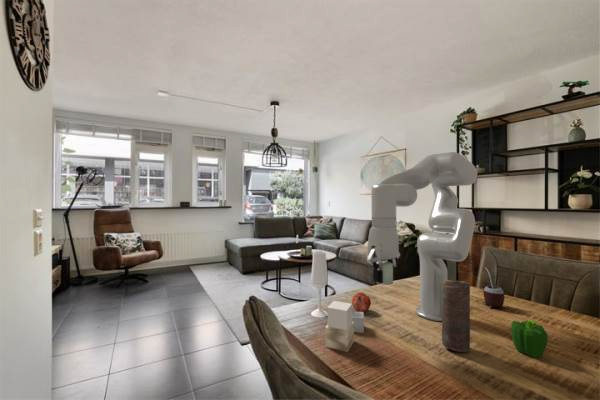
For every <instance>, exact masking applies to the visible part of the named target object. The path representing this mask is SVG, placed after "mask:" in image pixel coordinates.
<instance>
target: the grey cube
mask: <svg viewBox="0 0 600 400" xmlns="http://www.w3.org/2000/svg"><path fill="white" fill-rule="evenodd" d="M352 322H354V333H360V334H361V333H363V334H364V333H365V315H364V312H360V311H356V310H355V311H353V310H352Z"/></svg>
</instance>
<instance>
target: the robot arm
mask: <svg viewBox="0 0 600 400" xmlns="http://www.w3.org/2000/svg"><path fill="white" fill-rule="evenodd" d="M477 179H478V171H477V168H476V166H475V165H474V164H473V163H472V162H471V161H470V160H469V159H468V158H467V157H465V156H464V155H462V154H461V153H459V152H455V151H449V152H443V153H434V154H430V155H427V156H426V157H424V158H423V159H421V160H420V161H419V162H417V163H416V164H415V165H414V166H412V167H411V168H408V169H406V170H404V171H401V172H398V173H396V174H394V175H393V174H392V175H391V176H388V177H387V178H385V179H384V180H382V181H381V182H380V183H378V184H373V185H372V187H371V227H370V228H369V233H368V239H367V258H366V262H367V263H368V264H369V265H370V266H371V269H372V270H373V273H372V275H373V279H372V280H373V282H375V283H376V282H378V283H383V270H381V268H382V262H383V261H385V262H391V263H393V281H395V280H396V267H397V262H398V260H399V258H400V257H401V253H400V251H399V250H400V247H399V246H400V245H399V234H398V229H397V228H398V226H397V207H398V208H399V207H401V208H403V207H410V206H412V205H414V204H415V203H416V201H417V199H418V190H422V189H425V188H427V187H428V186H430V184H431V187H432V190H433V193H434V200H433V204H432V207H431V210H430V214H429V217H428V222H427V223H428V227H429V229H431V230H432V231H429V232H428V231H427V232H423V233H421V234H420V235H419V236H418V237H417V241H416V243H417V245H416V246H417V250H418V256H419V306H416V307H415V313H416V314H417V315H418V316H419V317H421V318H422V319H423V318H424V319H426V320H430V321H433V322H434V321H436V322H442V298H443V282H444V281H447V280H448V268H447V265H446V264H445V262H444V260H446V261H452V262H463V261H464V260H466V259H467V258H468V255H469V251H470V249H471V244H472V240H473V235H474V232H475V226H476V219H475V214H474V213H473V212H472V211H471V210H469V209H467V208H458V203H459V199H458V196H457V195H456V194H455V192H454V191H453V190H452V188H451V187H458V186H461V187H462V186H470V185H473V184H474V183H475V182H476V181H477ZM377 262H379V263H378V264H377ZM378 283H377V284H378Z"/></svg>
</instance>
